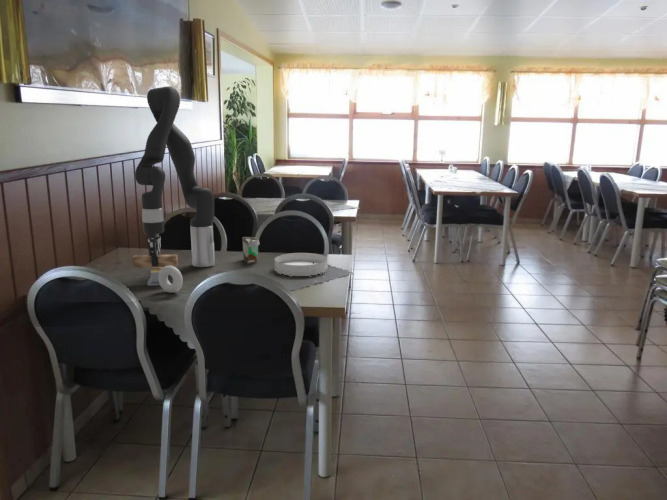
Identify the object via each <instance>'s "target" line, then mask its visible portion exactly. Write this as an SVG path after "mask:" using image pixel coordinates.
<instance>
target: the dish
mask: <svg viewBox="0 0 667 500" xmlns="http://www.w3.org/2000/svg"><path fill="white" fill-rule="evenodd" d="M308 261H312V262H315V263H314V264H313V263H312V262H308ZM326 269H327V270H328V258H327V256H325V255H323V254H319V253H312V252H293V253H292V252H291V253H285V254H281V255H280V254H279V255H278V256H276V257H275V258H274V272H275V271H277V272H279V273H283V274H292V275H310V274H316V273H320V272H323V271H325V270H326Z"/></svg>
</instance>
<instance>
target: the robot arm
mask: <svg viewBox="0 0 667 500" xmlns="http://www.w3.org/2000/svg"><path fill="white" fill-rule="evenodd" d="M146 100H147V104H148V107H149V110H150V112H151V114H152V116H153V118H154V120H155V121H156V123H155V125H154V127H153V128H152V129H151V131H150V132H149V135H148V137H147V139H146V142H145V147H144V152H143V155H142V157H141V159H140V161H139V163H138V165H137V167H136V168H135V172H134V180H135V181H136V183H137V184H138V185H139V186H140V185H141V186H152V188H151V190H150V191H146V192H145V191H144V192H143V193H142V194H141V206H142V211H141V217H142V231H143V234H146V235H149V238H147V248H148V255H150V256H151V261H152V266H158V255H161V250H162V248H161V247H162V243H161V242H162V241H161V240H162V239H161V238H162V236H161V235H160V234H163V233H165V220H164V219H165V218H164V211H163V201H162V197H163V191H164V185H165V182H166V172H165V170H164V168H163V167H162V166H158V164H160V163H163V161H164V158H165V154H166V149H167V151H168V154H169V156H170V159H171V161H172V164H173V165H174V169H175V171H176V174H177V178H178V180H179V184H180V186H181V191H182V194H183V198H184V201H185V204H186V205H187V206H188V207H189V208H191V209H194V210H196V211H195V212H196V214H195V216H194V217H191V219H190V222H189V225H190V226H189V227H190V242H191V263H192V264H191V265H192V266H193V267H195V268H207V267H208V268H209V267H214V266H215V263H216V259H215V257H216V256H215V255H216V254H215V241H214V229H213V228H214V225H213V222H214V218H215V197H214V196H215V195H214V193H213V191H212V190H211V189H210V188H208V187H200V186H199V185H198V182H197V181H196V177H195V173H194V171H195V164H196V156H195V151H194V148H193V146H192V144H191V142H190V140H189V138H188V137H187V136H186V134H184V132H183V131H182V130H180V128H179V127H177V125H176V124H174V122H175V119H176V117H177V115H178V112H179V111H178V110H179V108H180V106H181V105H180V104H181V96H180V93H179V91H178V89H177V88H175V87H173V86H161V87H157V88H151V89H149V90H148V91H147V95H146ZM156 164H157V166H156ZM154 165H155V166H154Z"/></svg>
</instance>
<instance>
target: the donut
mask: <svg viewBox="0 0 667 500" xmlns="http://www.w3.org/2000/svg"><path fill="white" fill-rule="evenodd" d="M169 276H170V277H171V278H172V283H171V281H170V280H169ZM183 278H184V277H183V275H182V273H181V271H180V270H179V268H177V267H174V266H165V267H163V268H162V269H161V270H160V272H159V275H158V280H159V284H160V285H159V286H160V288H162V290H163V291H164V292H167V293H170V294H173V293H177V292H178V291H180V290H181V288H182V286H183V282H184V279H183Z"/></svg>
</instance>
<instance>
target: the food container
mask: <svg viewBox="0 0 667 500" xmlns="http://www.w3.org/2000/svg"><path fill="white" fill-rule="evenodd" d="M241 243H242V254H243V260H244V262H246V263H247V265H252V263H254V264H256V263H258V255H259V251H258V250H259V246H260V240H259V238H257V237H254V236H253V237H251V236H242V241H241ZM255 262H256V263H255Z"/></svg>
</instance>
